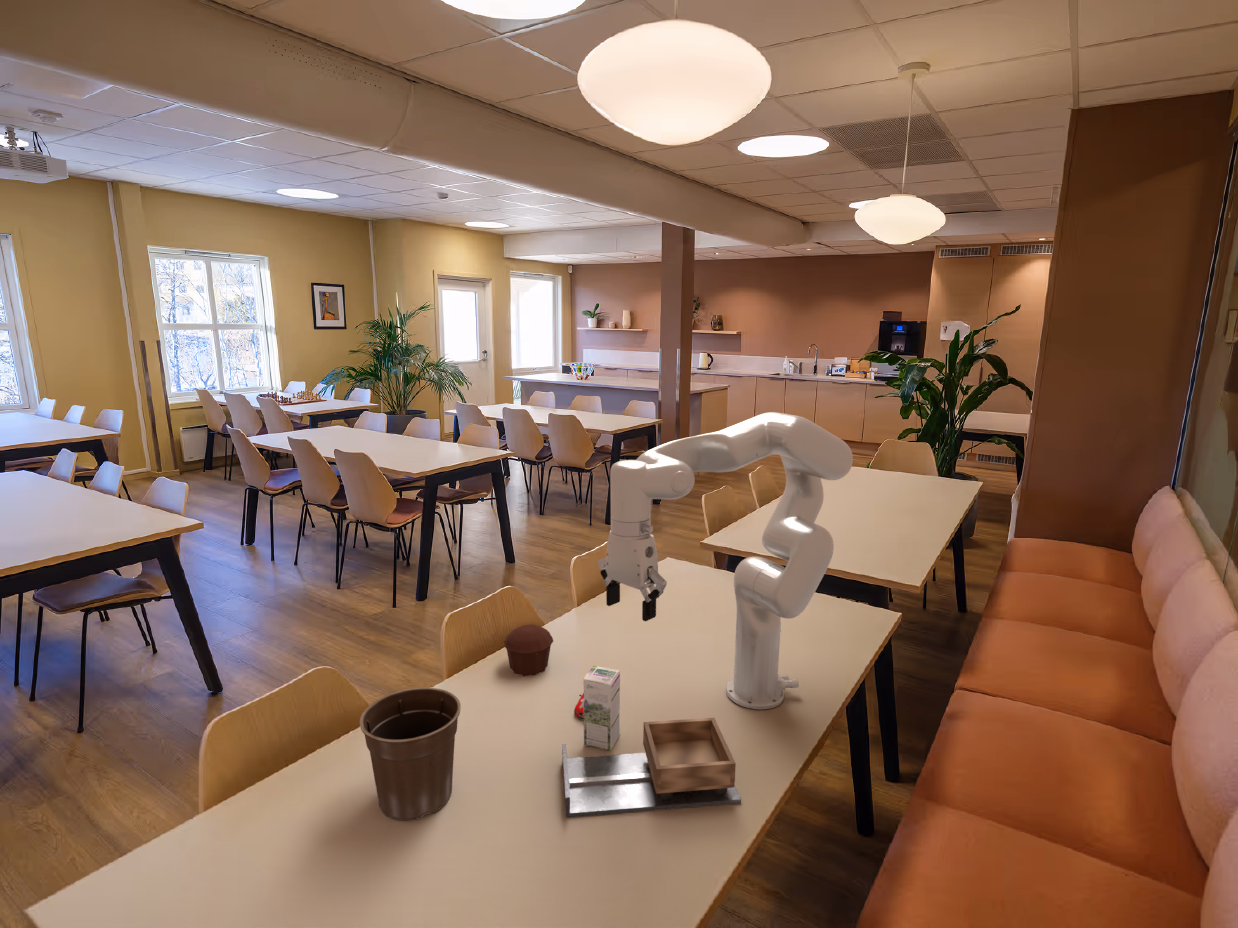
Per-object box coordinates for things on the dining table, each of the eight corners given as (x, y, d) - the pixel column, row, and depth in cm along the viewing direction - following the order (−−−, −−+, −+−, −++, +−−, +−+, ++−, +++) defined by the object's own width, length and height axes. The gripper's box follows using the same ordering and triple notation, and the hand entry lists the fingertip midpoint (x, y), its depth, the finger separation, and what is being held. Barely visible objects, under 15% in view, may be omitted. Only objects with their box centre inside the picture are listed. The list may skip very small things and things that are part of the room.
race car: (594, 725, 135) (595, 707, 134) (570, 720, 137) (570, 702, 136) (615, 692, 147) (615, 676, 147) (593, 688, 149) (593, 672, 148)
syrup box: (620, 735, 131) (621, 668, 128) (610, 752, 126) (610, 683, 123) (593, 729, 133) (593, 663, 130) (582, 746, 128) (582, 678, 125)
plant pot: (387, 764, 122) (382, 684, 119) (474, 766, 121) (471, 687, 118) (349, 829, 106) (342, 739, 103) (449, 832, 106) (444, 742, 102)
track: (718, 751, 127) (719, 733, 126) (741, 803, 113) (742, 783, 112) (562, 762, 123) (562, 743, 122) (565, 817, 109) (565, 797, 108)
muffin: (512, 683, 150) (511, 642, 148) (498, 661, 160) (497, 623, 158) (560, 671, 156) (560, 632, 154) (544, 651, 165) (543, 614, 163)
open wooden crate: (713, 748, 126) (714, 717, 125) (734, 797, 113) (735, 763, 111) (643, 753, 124) (643, 722, 123) (655, 803, 111) (656, 769, 110)
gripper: (678, 531, 120) (677, 618, 124) (613, 513, 132) (613, 593, 136) (651, 541, 115) (650, 631, 118) (585, 521, 127) (586, 603, 131)
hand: (630, 611), depth 127 cm, fingers open, 9 cm apart
